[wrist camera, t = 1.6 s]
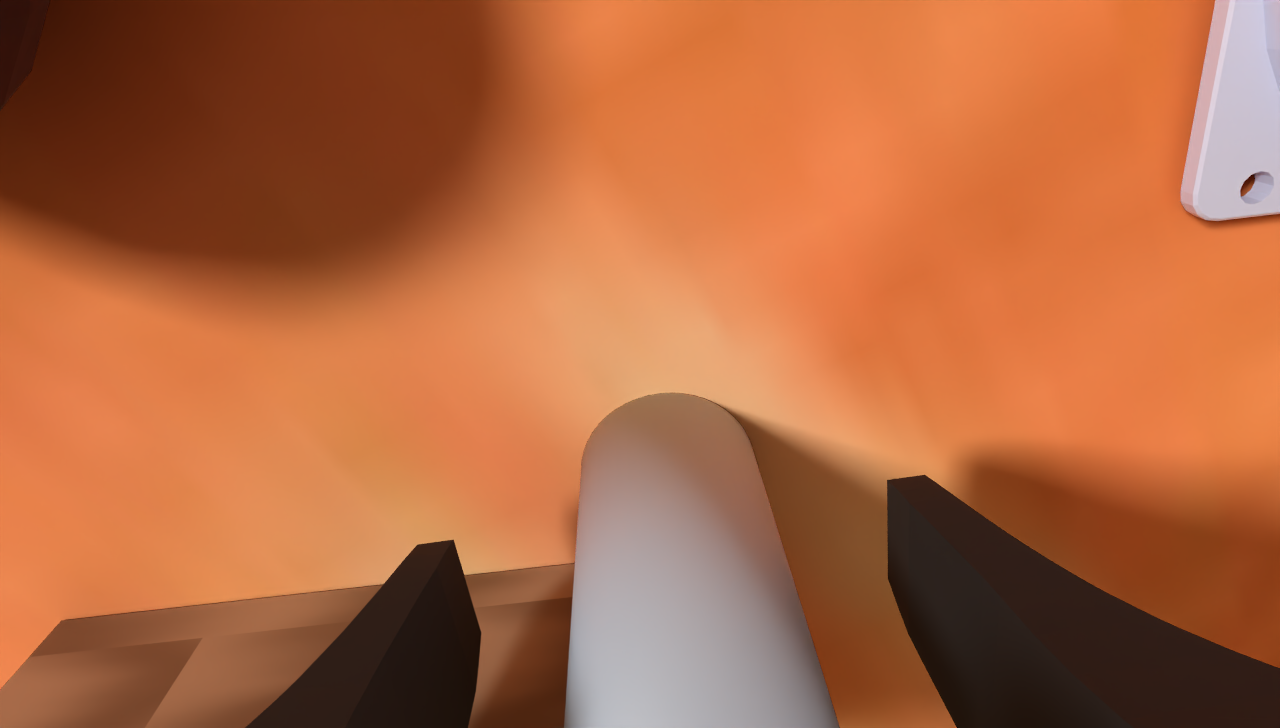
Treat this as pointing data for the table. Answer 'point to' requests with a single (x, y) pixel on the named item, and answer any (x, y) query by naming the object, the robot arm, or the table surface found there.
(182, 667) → the walnut block
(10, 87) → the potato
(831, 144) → the table surface
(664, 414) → the dowel
